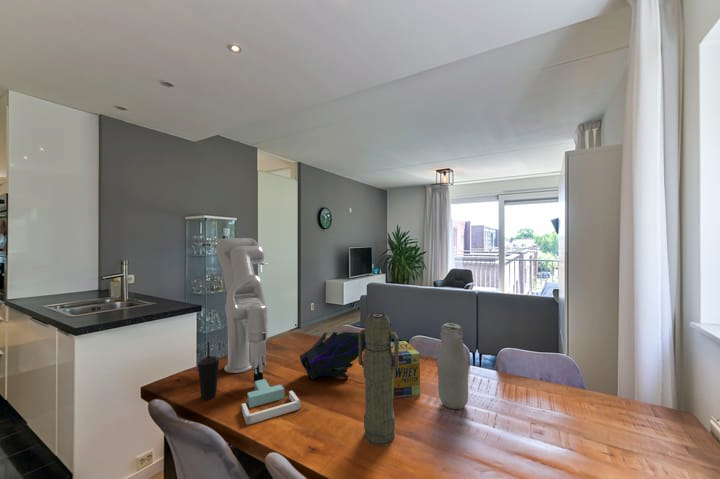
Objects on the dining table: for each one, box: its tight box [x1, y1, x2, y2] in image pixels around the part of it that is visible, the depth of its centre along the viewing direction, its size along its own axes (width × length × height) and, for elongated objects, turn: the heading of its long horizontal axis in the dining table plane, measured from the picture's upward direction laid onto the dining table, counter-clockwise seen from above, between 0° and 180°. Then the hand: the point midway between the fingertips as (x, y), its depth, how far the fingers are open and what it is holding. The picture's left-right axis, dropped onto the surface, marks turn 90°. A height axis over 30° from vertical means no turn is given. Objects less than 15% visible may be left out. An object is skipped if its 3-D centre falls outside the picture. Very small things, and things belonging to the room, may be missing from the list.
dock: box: [241, 390, 302, 426], centre depth 103 cm, size 9×17×2 cm, turn 120°
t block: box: [247, 378, 285, 409], centre depth 113 cm, size 12×12×4 cm
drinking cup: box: [196, 341, 221, 401], centre depth 112 cm, size 8×8×20 cm
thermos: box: [358, 312, 400, 447], centre depth 88 cm, size 9×12×35 cm
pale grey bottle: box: [436, 322, 469, 410], centre depth 103 cm, size 10×10×28 cm
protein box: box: [391, 340, 421, 400], centre depth 117 cm, size 10×15×16 cm
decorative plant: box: [299, 331, 366, 380], centre depth 129 cm, size 21×26×30 cm
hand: (258, 382), depth 120 cm, fingers closed
